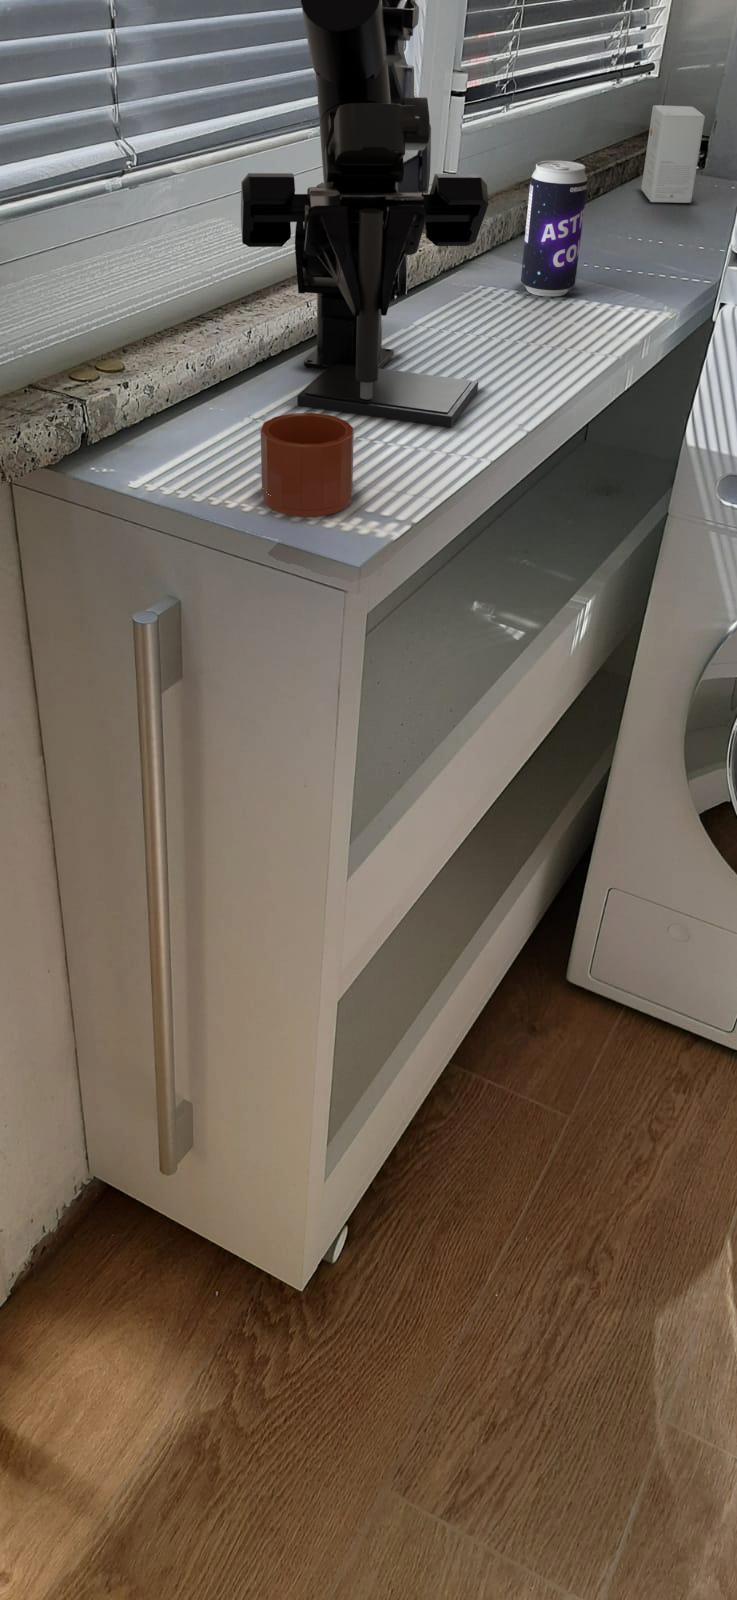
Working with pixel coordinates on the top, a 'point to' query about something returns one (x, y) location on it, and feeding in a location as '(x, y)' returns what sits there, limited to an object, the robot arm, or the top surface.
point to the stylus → (369, 299)
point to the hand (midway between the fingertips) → (370, 313)
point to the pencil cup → (307, 464)
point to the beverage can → (553, 227)
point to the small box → (672, 153)
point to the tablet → (391, 395)
